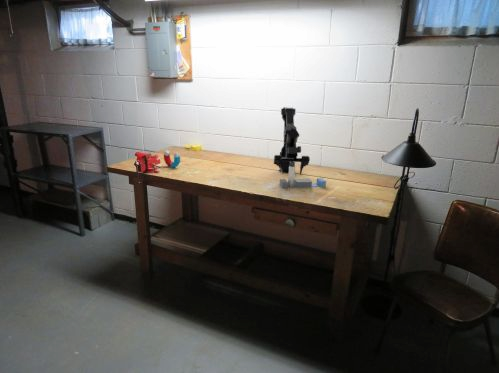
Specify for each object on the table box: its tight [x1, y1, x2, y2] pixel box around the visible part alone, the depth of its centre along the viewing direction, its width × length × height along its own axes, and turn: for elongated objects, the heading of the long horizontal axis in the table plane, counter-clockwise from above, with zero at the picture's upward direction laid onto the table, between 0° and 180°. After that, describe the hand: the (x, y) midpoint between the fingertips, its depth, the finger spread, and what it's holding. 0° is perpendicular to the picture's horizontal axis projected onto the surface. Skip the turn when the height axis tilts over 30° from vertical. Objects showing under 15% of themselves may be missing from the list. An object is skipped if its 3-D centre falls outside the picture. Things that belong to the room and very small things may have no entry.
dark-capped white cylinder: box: [287, 162, 296, 187], centre depth 188 cm, size 3×3×13 cm
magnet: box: [163, 149, 181, 168], centre depth 222 cm, size 12×3×10 cm, turn 57°
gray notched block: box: [278, 177, 327, 189], centre depth 191 cm, size 6×24×4 cm, turn 100°
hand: (291, 173), depth 187 cm, fingers open, 9 cm apart
